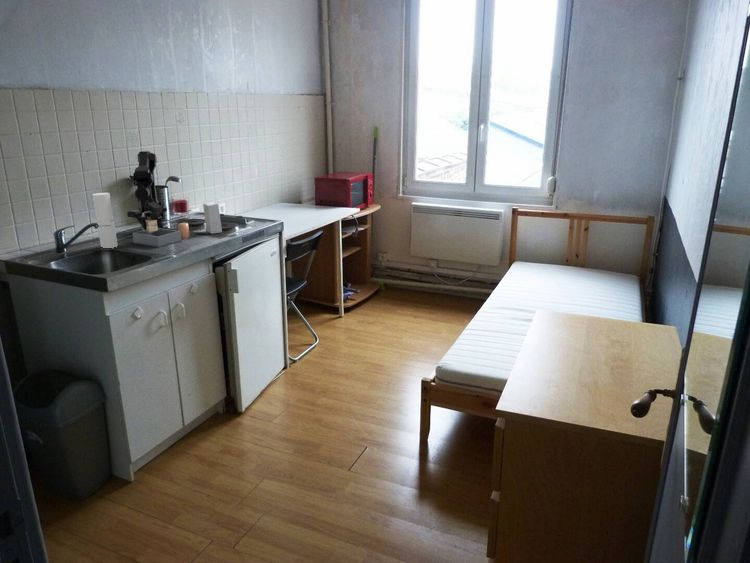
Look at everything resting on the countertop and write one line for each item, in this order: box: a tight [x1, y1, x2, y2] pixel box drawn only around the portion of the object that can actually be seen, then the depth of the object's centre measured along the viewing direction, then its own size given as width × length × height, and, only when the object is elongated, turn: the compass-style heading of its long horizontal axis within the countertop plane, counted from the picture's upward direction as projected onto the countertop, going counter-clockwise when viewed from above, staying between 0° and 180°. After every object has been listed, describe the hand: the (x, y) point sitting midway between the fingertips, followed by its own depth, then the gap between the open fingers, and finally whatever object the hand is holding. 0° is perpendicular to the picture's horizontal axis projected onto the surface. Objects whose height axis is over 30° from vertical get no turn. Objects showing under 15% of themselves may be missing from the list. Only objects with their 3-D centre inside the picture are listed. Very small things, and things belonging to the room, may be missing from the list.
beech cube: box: [141, 219, 158, 232], centre depth 273 cm, size 5×5×5 cm
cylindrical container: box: [91, 192, 118, 249], centre depth 262 cm, size 7×7×25 cm
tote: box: [132, 228, 183, 248], centre depth 272 cm, size 18×14×5 cm
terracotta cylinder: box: [177, 222, 191, 240], centre depth 281 cm, size 5×5×7 cm
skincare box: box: [202, 201, 223, 234], centre depth 291 cm, size 8×6×15 cm
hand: (149, 228), depth 274 cm, fingers closed on beech cube, 5 cm apart
